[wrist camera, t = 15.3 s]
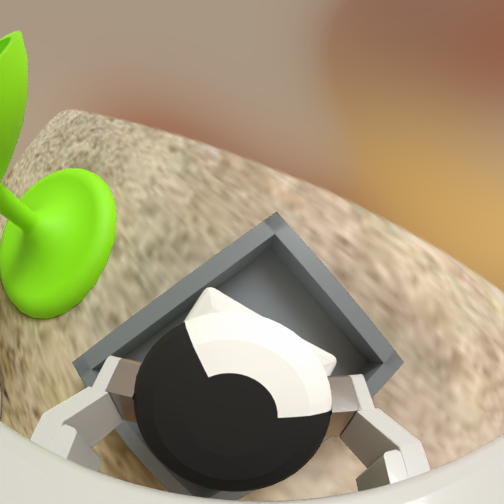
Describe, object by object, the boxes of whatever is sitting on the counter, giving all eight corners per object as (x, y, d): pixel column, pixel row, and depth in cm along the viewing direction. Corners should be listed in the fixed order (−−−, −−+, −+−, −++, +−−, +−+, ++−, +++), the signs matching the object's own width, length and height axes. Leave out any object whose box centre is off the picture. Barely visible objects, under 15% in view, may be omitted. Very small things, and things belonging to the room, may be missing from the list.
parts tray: (204, 496, 15) (198, 518, 11) (95, 362, 18) (72, 362, 15) (381, 361, 19) (403, 362, 16) (271, 232, 22) (276, 211, 19)
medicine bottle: (254, 438, 16) (274, 539, 5) (166, 388, 17) (74, 429, 6) (306, 355, 18) (396, 359, 7) (218, 305, 19) (188, 242, 8)
